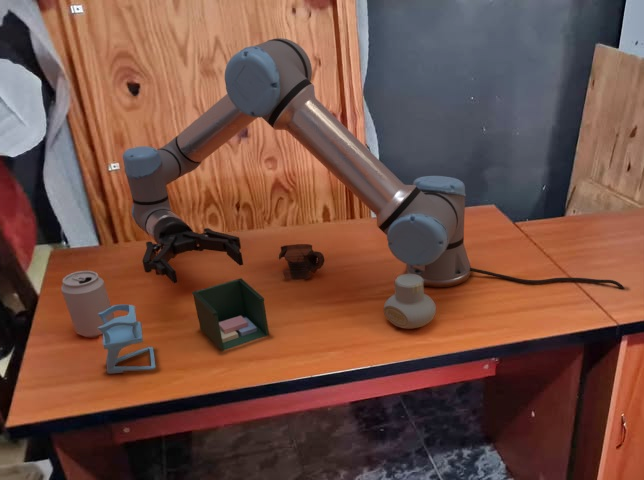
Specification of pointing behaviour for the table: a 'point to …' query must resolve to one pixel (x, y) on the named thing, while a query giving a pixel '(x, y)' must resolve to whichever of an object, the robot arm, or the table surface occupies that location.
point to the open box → (230, 311)
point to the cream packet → (229, 336)
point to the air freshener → (409, 303)
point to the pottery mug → (301, 260)
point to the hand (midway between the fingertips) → (208, 267)
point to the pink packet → (233, 324)
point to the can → (86, 301)
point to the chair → (122, 338)
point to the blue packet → (247, 328)
